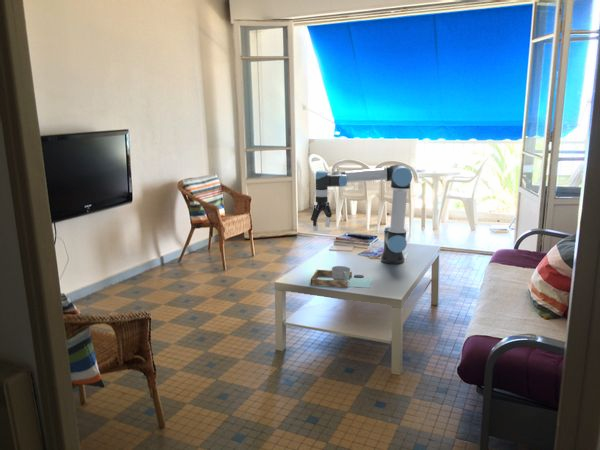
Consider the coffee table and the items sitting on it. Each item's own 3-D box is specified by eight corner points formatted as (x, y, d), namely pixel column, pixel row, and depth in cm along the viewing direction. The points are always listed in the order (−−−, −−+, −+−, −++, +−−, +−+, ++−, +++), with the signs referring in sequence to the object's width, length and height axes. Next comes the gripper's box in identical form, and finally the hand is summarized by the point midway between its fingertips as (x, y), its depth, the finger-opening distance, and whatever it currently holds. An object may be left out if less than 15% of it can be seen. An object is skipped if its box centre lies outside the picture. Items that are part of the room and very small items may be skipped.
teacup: (330, 278, 317) (330, 265, 315) (348, 277, 317) (348, 264, 316) (333, 285, 303) (334, 272, 301) (352, 285, 304) (352, 271, 302)
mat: (372, 279, 314) (372, 278, 314) (369, 288, 299) (369, 287, 299) (350, 277, 317) (350, 277, 317) (347, 286, 302) (347, 286, 302)
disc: (364, 275, 321) (364, 275, 321) (363, 278, 316) (363, 278, 316) (354, 274, 323) (354, 274, 323) (353, 277, 317) (353, 277, 317)
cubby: (351, 277, 318) (351, 271, 317) (347, 287, 300) (347, 281, 299) (316, 275, 323) (316, 269, 322) (310, 285, 305) (310, 279, 304)
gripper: (327, 192, 341) (327, 224, 346) (305, 198, 322) (305, 231, 326) (337, 193, 337) (337, 226, 342) (315, 199, 317) (315, 233, 322)
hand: (321, 229), depth 334 cm, fingers open, 13 cm apart
